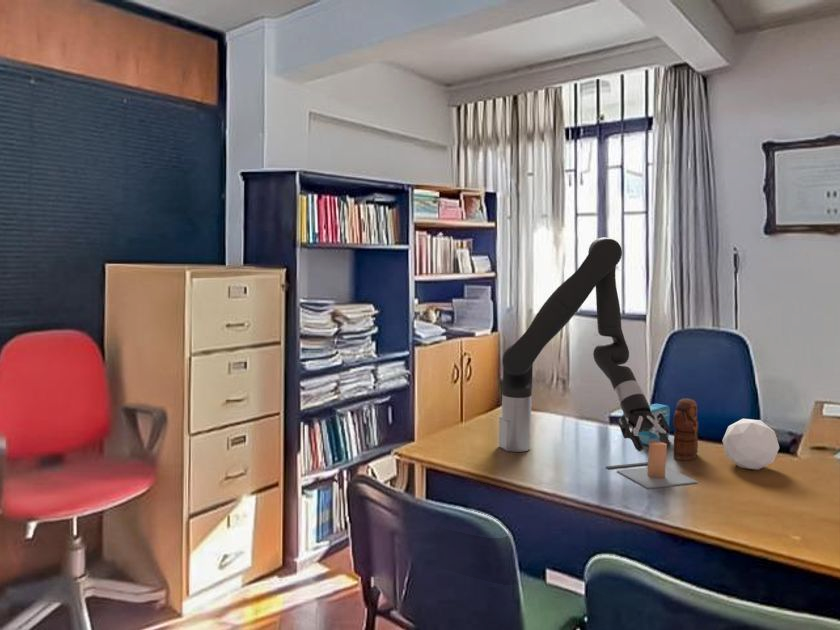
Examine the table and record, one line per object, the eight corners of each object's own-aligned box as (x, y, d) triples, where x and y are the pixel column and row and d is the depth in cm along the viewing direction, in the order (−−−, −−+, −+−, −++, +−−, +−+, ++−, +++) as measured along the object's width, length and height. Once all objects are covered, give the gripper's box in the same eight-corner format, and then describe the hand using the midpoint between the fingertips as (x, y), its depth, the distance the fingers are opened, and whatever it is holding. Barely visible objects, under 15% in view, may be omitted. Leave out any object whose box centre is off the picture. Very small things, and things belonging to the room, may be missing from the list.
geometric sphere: (763, 486, 193) (798, 454, 185) (717, 469, 192) (750, 436, 183) (750, 450, 205) (782, 419, 196) (707, 434, 203) (737, 401, 195)
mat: (644, 489, 176) (644, 487, 176) (605, 467, 193) (605, 466, 193) (700, 482, 181) (700, 481, 181) (658, 462, 198) (658, 461, 198)
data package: (648, 446, 214) (650, 410, 213) (636, 443, 218) (637, 407, 217) (668, 440, 222) (670, 405, 221) (656, 437, 225) (658, 402, 224)
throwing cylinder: (654, 479, 182) (655, 446, 182) (644, 473, 187) (645, 441, 186) (668, 477, 184) (670, 445, 183) (657, 472, 188) (659, 440, 187)
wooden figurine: (692, 463, 198) (695, 403, 196) (670, 459, 202) (672, 401, 200) (700, 453, 208) (703, 396, 206) (678, 449, 211) (681, 394, 210)
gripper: (616, 393, 190) (638, 444, 180) (658, 391, 194) (682, 440, 184) (605, 407, 196) (626, 457, 186) (646, 405, 200) (669, 453, 190)
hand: (654, 448), depth 185 cm, fingers open, 8 cm apart
